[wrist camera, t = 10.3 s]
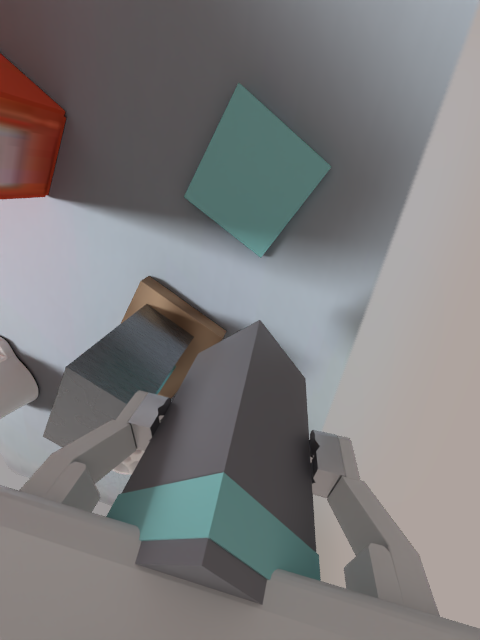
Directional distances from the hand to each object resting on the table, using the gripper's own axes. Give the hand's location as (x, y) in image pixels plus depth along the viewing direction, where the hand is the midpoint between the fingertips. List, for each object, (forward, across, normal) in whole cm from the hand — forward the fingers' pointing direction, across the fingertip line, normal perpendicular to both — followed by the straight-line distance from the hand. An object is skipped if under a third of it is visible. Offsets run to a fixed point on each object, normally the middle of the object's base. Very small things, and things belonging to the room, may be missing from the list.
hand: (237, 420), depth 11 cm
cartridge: (+4, 0, 0) cm, 4 cm away
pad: (+14, +2, -9) cm, 17 cm away
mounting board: (+14, +12, +10) cm, 21 cm away
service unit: (+13, +12, +10) cm, 20 cm away
